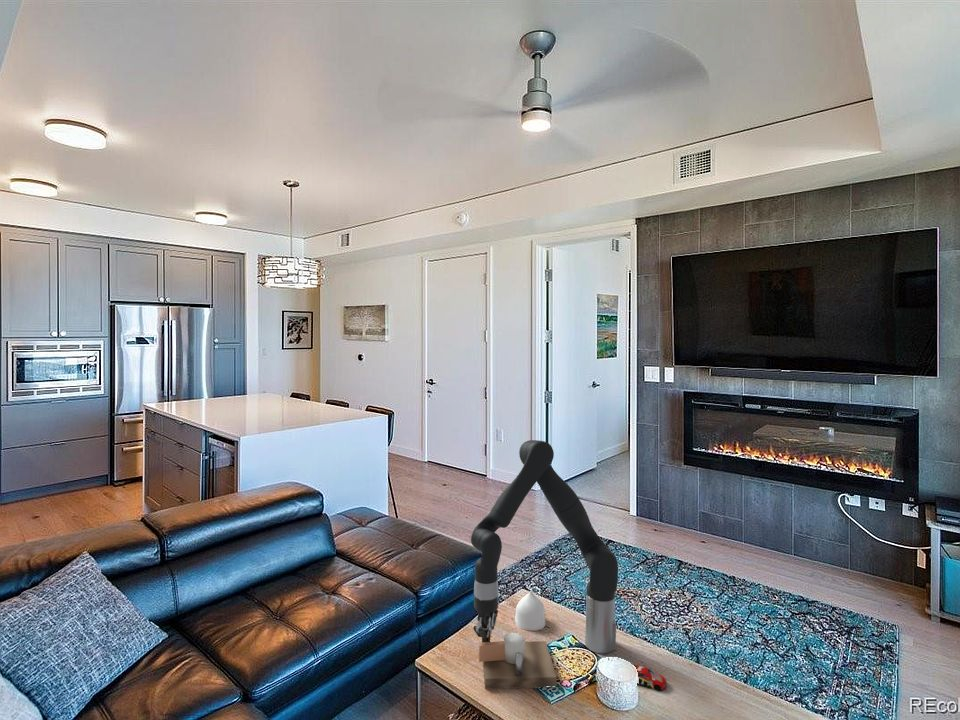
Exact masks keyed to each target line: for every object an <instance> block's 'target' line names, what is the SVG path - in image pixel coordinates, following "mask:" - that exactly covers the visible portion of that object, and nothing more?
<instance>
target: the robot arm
mask: <svg viewBox="0 0 960 720" xmlns="http://www.w3.org/2000/svg"><path fill="white" fill-rule="evenodd" d="M518 451H519V452H518V454H519V459H520V461H521V463H522V464H523V466H522V468H521V470H520V471H519V473H518V474H517V475H516V477H515V478H514V479H513V480H512V482H510V483H509V485H508V486H507V487H506V488H505V489H504V490H503V491H502V492H501V494H500V495H499V497H498V498H497V499H496V502H495V503H494V505H493V507H492V508H491V510H490V511H489V513H488V514H487V515H485V516H484V517H483V518H482V519H481V521H480V522H479V523H477V524H476V527H475V528H474V529H473V531H472V533H471V535H470V536H471V537H470V542H471V545H472V547H473V548H475V549H476V550H477V551H479V552H480V553H481V557H479V558H478V559H477V560H476V561H475V564H474V586H473V607H474V609H475V611H476V612H477V624H476V625H474V626H473V631H474V632H475V634H476V636H477V637H478V638H481V643H484V642H491V636H492V633H493V632H492V631H493V630H494V629H495V626H496V621H497V616H498V614H499V583H498V565H499V562H500V558H501V554H502V549H503V544H502V540H501V537H500V535H499V534H497V530H498V529H500V528H503V529H505V528H508V526H509V525H510V524H511V522H512V520H513V518H514V517H515V515H516V513H517V511H518V510H519V508H520V507H521V505H522V503H523V501H525V498H526V497H527V496H528V494H529V492H530V491H531V489H532V488H533V487H534V485H536V483H537V485H538V486H539V488H540V490H541V491H542V493H543V494H544V497H545V498H546V500H547V502H548V504H549V505H550V506H551V509H552V511H553V512H554V513H555V515H556V517H557V518H558V520H559V521H560V523H561V524H562V526H563V528H564V529H566V531H567V532H568V533H569V534H570V535H571V536H572V537H573V539H574V541H575V542H576V544H577V546H578V548H579V550H580V552H581V554H582V556H583V558H584V559H583V560H584V561H585V563H586V565H587V567H588V568H589V582H588V583H587V585H586V593H585V594H586V595H585V599H586V600H585V636H584V640H585V641H584V642H585V643H584V644H585V646H586V648H587V649H588V650H589V651H592V652H594V653H597V654H608V653H611V652H613V651H616V648H617V645H616V644H617V641H616V640H617V622H616V619H615V606H616V605H615V598H616V597H615V596H616V592H617V588H618V579H619V578H618V577H619V563H618V559H617V557H616V556H615V554H614V553H613V551H612V550H611V549H610V548H609V547H608V545H607V544H606V543H605V542H604V541H603V540H602V538H600V536H599V534H598V533H597V532H596V531H595V529H594V528H593V525H592V524H591V520H590V518H589V514H588V513H587V510H586V508H585V506H584V504H583V503H582V501H581V499H579V497H578V495H577V494H576V492H575V491H574V489H573V488H572V487H570V485H569V484H568V483H567V482H566V481H565V480H564V479H563V478H562V477H561V476H560V475H559V474H558V473H557V472H556V470H555V469H554V468H553V466H552V463H553V460H554V456H555V454H554V453H555V452H554V448H553V447H552V445H551V444H550V443H549V442H547V441H543V440H539V439H538V440H537V439H536V440H533V439H531V440H526V441H524V442H523V443H522V444H521V445H520V448H519V450H518Z"/></svg>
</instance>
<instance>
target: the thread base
mask: <svg viewBox="0 0 960 720" xmlns="http://www.w3.org/2000/svg"><path fill="white" fill-rule="evenodd" d="M551 657H552V656H551V654H550V651H549V648H548V644H547V642H546V641H544V640H542V641H541V640H540V641H534V640H533V641H532V640H531V641H525V654H524V661H523V662H522V653H521V652H517V653H516V664H510V663H508V662H506V661H505V660H498V661H485V662H482V668H483V669H482V671H483V680H484V682H483V683H484V689H485V690H486V689H487V690H489V689H490V690H491V689H534V688H535V689H536V687H544V686H556V687H557V681H558V680H557V679H558V677H557V674H556V670H555V668H554V667H555V666H554V664H553V661H552V658H551Z"/></svg>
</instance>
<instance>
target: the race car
mask: <svg viewBox="0 0 960 720" xmlns="http://www.w3.org/2000/svg"><path fill="white" fill-rule="evenodd" d="M632 664H633V665H634V666H635V667H636V669H637V672H638V677H639V686H643V687H646V688H649V689H653V690H655V691H657V692H660V691H664V690H665V689H666V688H667V687H668V683H667V680H666V678H665V677H664V676H663V675H662V674H660V673H657V672H655V671H653V670H652V669H651V668H648V667H646V666H643V665H639V664H634V663H632Z"/></svg>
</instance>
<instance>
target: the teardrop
mask: <svg viewBox="0 0 960 720" xmlns="http://www.w3.org/2000/svg"><path fill="white" fill-rule="evenodd" d="M514 621H515V622H516V623H515V625H516V626H517V627H518V628H519V629H523V630H526V631H539V630H541V629H544V627H545V626H546V610H545V606H544V603H543V602H542V601H541V599H540V598H539V597H538V596H537V595H535V594H534V592H532V590H531V589H530V591H529V592H528V593H527V594H526V595H524V596H523V597H522V598H521V599H520V600H519V602H518V603H517V605H516V607H515V618H514Z"/></svg>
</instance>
